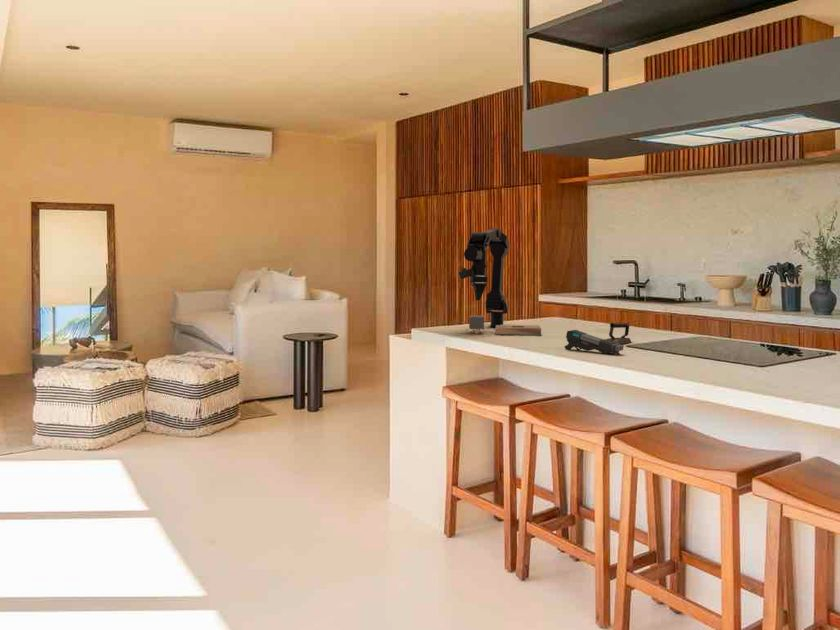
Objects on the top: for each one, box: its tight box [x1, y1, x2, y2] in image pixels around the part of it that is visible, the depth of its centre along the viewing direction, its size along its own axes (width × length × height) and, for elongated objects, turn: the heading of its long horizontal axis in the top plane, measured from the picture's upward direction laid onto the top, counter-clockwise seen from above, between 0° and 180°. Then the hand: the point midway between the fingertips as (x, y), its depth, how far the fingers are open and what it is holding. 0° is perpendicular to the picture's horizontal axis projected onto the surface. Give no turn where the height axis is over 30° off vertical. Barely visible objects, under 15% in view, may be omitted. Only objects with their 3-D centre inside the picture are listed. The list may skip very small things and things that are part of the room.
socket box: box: [495, 324, 542, 337], centre depth 300 cm, size 11×18×4 cm, turn 85°
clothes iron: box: [606, 322, 632, 346], centre depth 273 cm, size 7×11×10 cm, turn 123°
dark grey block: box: [468, 315, 485, 334], centre depth 303 cm, size 6×6×7 cm
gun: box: [564, 329, 625, 356], centre depth 251 cm, size 4×20×10 cm, turn 48°
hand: (477, 300), depth 302 cm, fingers open, 9 cm apart
